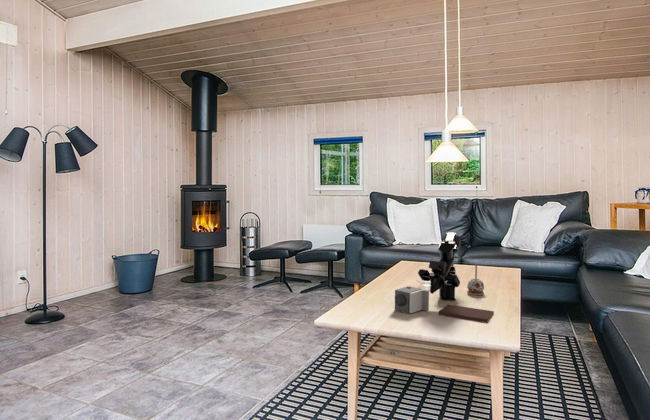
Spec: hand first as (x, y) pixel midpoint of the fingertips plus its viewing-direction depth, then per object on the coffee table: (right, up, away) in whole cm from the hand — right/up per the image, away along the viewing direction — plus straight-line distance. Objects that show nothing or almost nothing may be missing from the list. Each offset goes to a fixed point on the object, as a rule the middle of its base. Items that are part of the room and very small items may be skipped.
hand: (431, 292), depth 189 cm
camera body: (-10, -7, -1) cm, 13 cm away
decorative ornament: (+29, -6, +28) cm, 41 cm away
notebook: (+13, -8, -7) cm, 17 cm away
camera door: (-7, -7, -5) cm, 11 cm away
